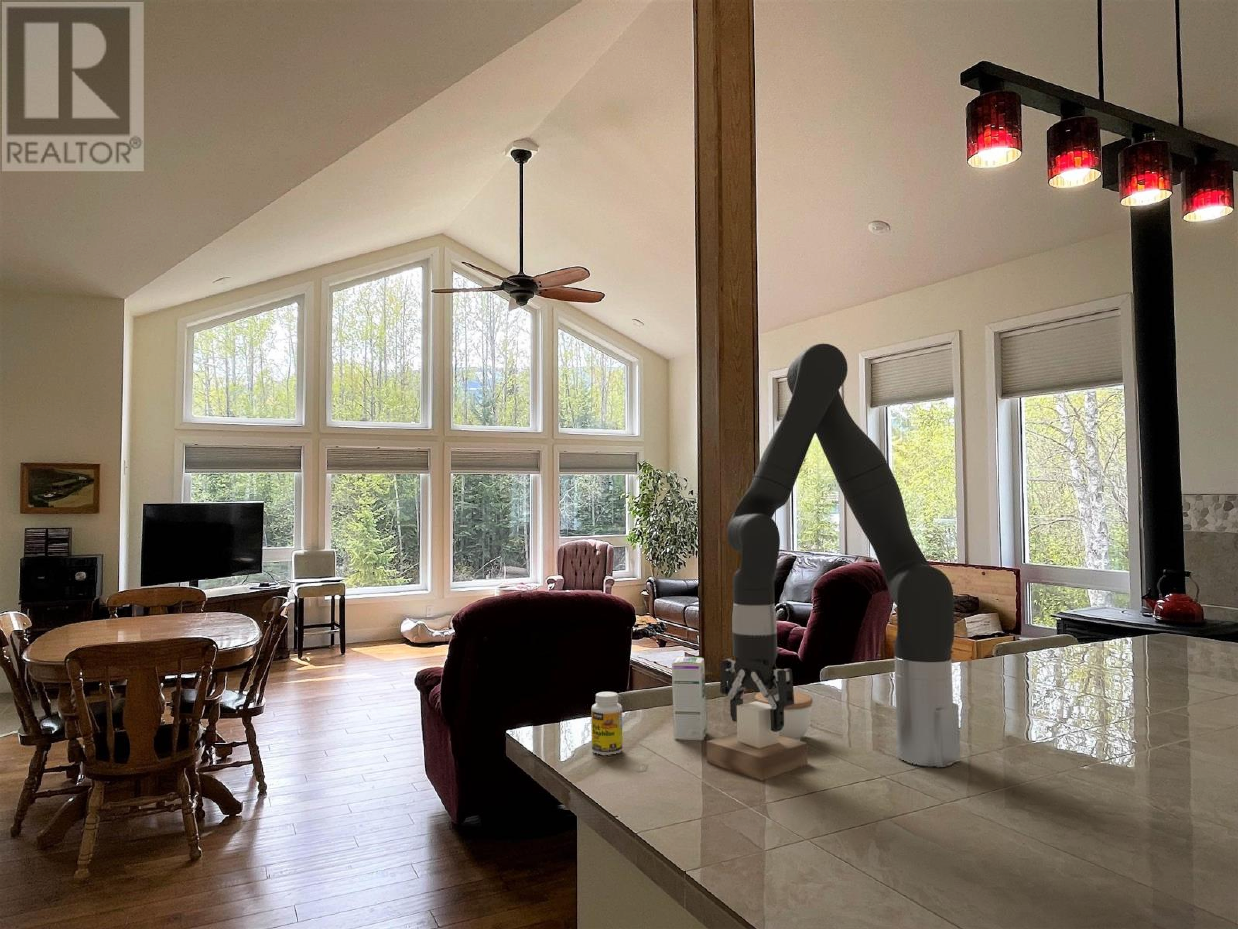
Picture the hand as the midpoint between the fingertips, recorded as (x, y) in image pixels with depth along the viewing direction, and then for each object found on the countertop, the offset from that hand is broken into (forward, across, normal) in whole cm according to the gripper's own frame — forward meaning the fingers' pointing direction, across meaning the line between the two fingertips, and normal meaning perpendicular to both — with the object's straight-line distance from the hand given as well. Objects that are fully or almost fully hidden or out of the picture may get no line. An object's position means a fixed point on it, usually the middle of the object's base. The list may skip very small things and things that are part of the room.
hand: (756, 725), depth 134 cm
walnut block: (+7, 0, 0) cm, 7 cm away
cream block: (+3, 0, 0) cm, 3 cm away
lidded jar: (+6, +6, -15) cm, 17 cm away
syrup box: (+6, +19, -3) cm, 20 cm away
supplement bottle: (+6, +22, +15) cm, 27 cm away
